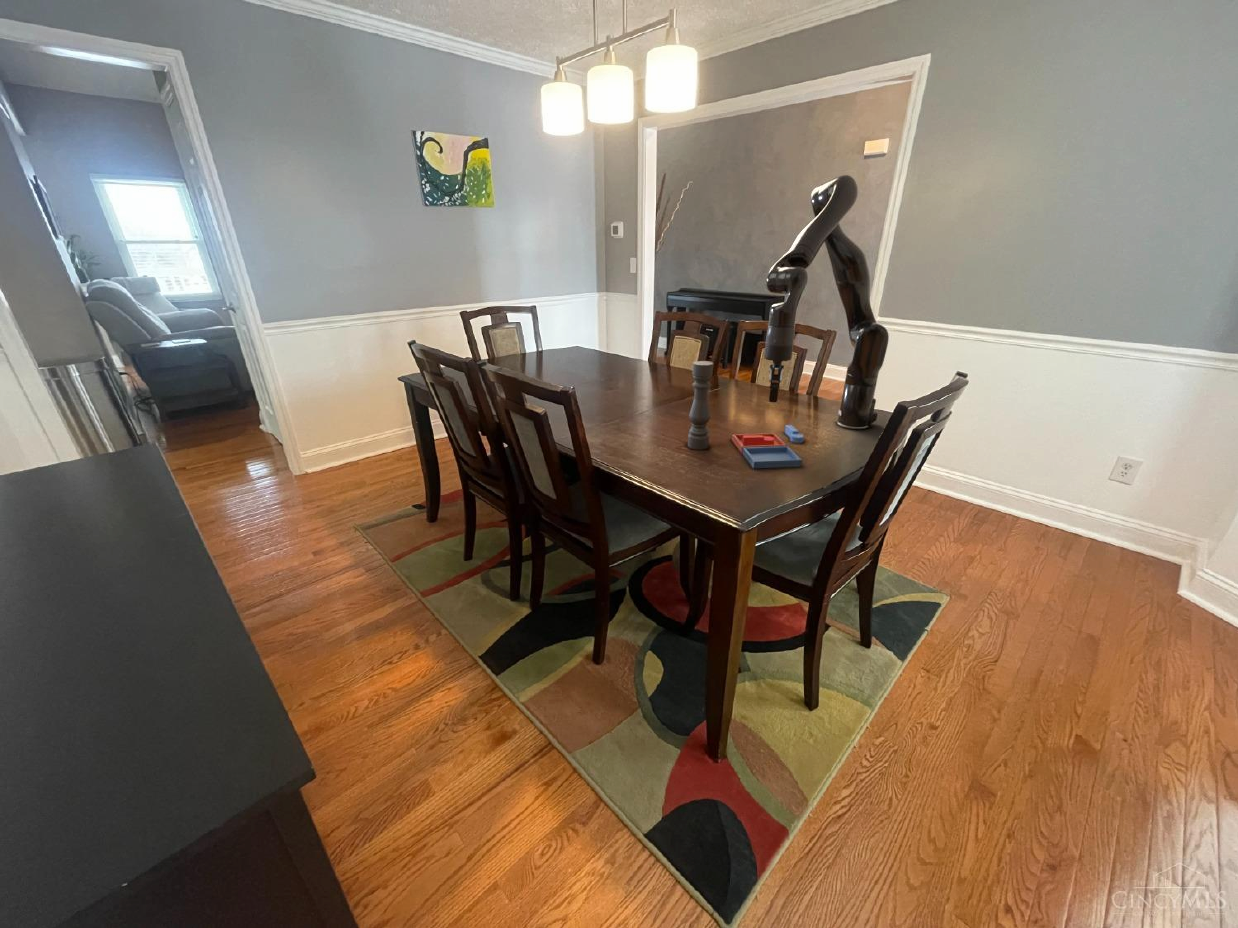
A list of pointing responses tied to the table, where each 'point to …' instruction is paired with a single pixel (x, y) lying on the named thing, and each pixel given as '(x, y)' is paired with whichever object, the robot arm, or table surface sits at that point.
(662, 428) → the table surface
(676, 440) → the table surface
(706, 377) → the candle holder
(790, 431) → the blue stepped block
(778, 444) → the red tray
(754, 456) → the blue tray
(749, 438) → the red stepped block
